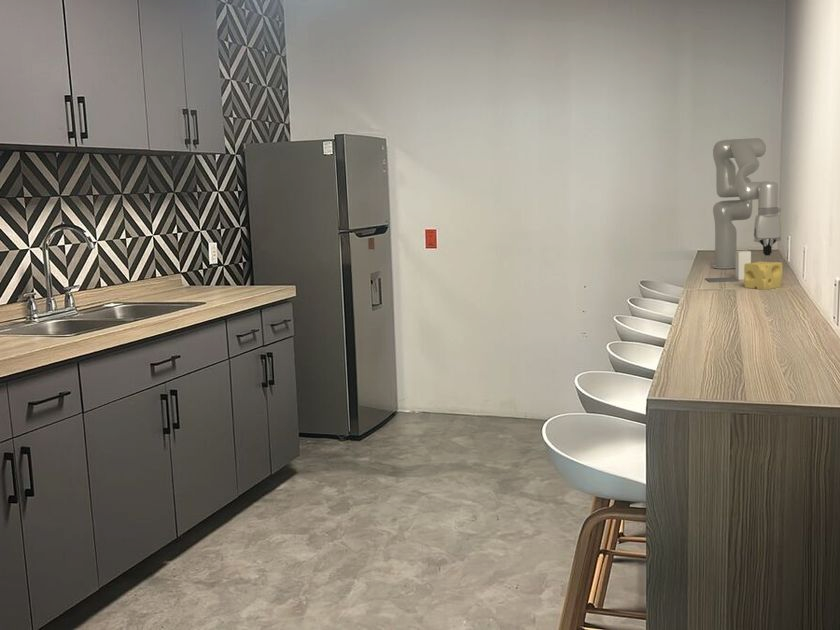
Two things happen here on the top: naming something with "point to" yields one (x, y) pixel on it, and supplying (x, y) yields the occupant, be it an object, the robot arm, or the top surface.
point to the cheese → (763, 275)
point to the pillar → (741, 263)
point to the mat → (721, 279)
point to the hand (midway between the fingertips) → (767, 255)
